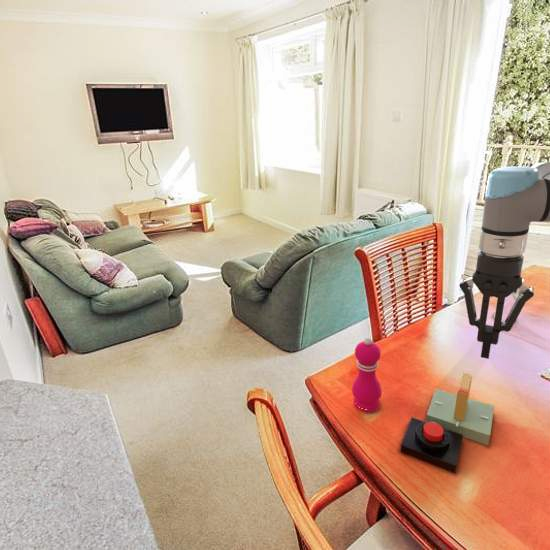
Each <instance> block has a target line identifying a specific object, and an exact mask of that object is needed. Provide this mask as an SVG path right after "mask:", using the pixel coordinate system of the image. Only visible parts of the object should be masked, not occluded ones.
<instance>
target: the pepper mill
mask: <svg viewBox="0 0 550 550" xmlns="http://www.w3.org/2000/svg"><path fill="white" fill-rule="evenodd" d="M381 353H382V352H381V348H380V347H379V345H378V344H377V343H375V342H374V341H372V338H371V337H368V336H367V337H365V338H364V339H363V341H362V340H361V342H359V343H357V345H356V346H355V348H354V356H355V358H356V367H357V368H358V374H357V376H355V377H356V378H355V379H354V381H353V383H352V386H351V387H352V388H351V393H352V396H353V405H354V407H355V408H356V409H357V410H359V411H360V412H363V413H373V412H375V411H377V410H378V408H379V406H380V398H381V396H382V392H383V391H382V386H381V383H380V381H379V379H378V377H377V374H376V371H377V369H378V368H379V360H380V359H381ZM355 403H356V404H355ZM358 406H359V407H360V408H359V407H358ZM361 408H363V409H361ZM365 409H367V410H365Z"/></svg>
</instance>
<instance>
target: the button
mask: <svg viewBox="0 0 550 550" xmlns="http://www.w3.org/2000/svg"><path fill="white" fill-rule="evenodd" d="M443 433H444V430H443V428H442V427H441V426H440V425H439V424H437V423H435V422H427V423H426V424H425V425H424V428H423V435H424V437H425V438H426V439H427V440H429V441H431V442H440V441H441V440H442V439H443Z"/></svg>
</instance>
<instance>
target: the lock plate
mask: <svg viewBox="0 0 550 550" xmlns="http://www.w3.org/2000/svg"><path fill="white" fill-rule="evenodd" d="M456 398H457V393H456V394H455V393H453V392H449V391H445V390H442V389H438V388H435V389H434V393H433V395H432V398H431V401H430V403H429V407H428V410H427V413H426V418H425V422H431V421H432V422H435V423H438V424H441V425H442V426H443V427H445V428H446V429H448V430H450V431H453V432H456V433H459V434H462V435H463V438H465V439H467V440H470V441H473V442H476V443H479V444H482V445H485V446H489V443H490V440H491V433H492V428H493V427H492V425H493V418H494V411H495V405H493V404H489V403H486V402H484V401H479V400H476V399H474V398H473V399H472V398H468V403H467V407H466V411H465V415H464V420H463V421H460V420H457V419H454V411H455V405H456Z"/></svg>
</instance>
